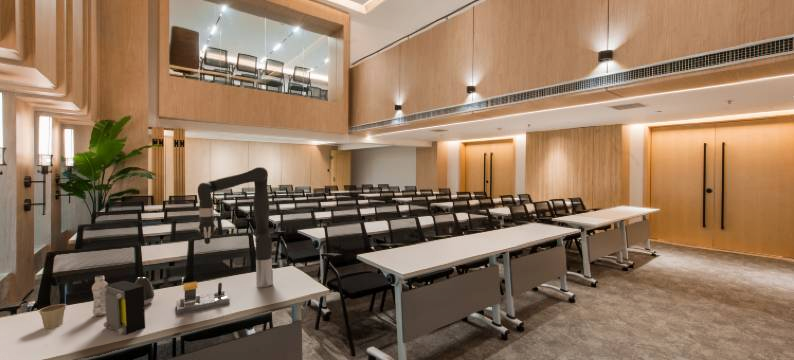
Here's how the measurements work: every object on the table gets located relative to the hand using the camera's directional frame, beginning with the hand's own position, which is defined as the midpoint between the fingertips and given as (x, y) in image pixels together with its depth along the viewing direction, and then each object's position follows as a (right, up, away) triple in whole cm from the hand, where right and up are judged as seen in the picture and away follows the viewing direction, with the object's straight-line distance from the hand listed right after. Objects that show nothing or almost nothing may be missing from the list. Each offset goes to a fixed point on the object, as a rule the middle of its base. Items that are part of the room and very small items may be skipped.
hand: (207, 243), depth 203 cm
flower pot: (-50, -31, -43) cm, 73 cm away
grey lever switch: (+9, -30, -20) cm, 37 cm away
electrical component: (-14, -31, -45) cm, 57 cm away
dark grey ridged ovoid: (-25, -30, -18) cm, 43 cm away
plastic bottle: (-37, -31, -31) cm, 57 cm away
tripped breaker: (+4, -25, -23) cm, 35 cm away
